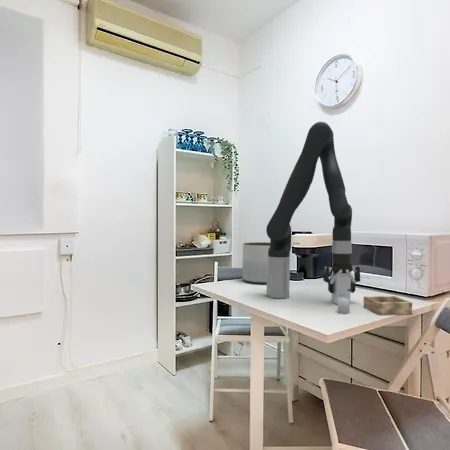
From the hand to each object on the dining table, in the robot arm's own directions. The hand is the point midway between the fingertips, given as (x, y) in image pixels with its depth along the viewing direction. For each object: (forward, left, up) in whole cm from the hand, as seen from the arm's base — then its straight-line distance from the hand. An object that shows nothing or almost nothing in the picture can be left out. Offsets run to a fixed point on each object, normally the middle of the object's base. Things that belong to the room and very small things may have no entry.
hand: (341, 292), depth 134 cm
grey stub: (-5, -13, -4) cm, 15 cm away
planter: (-21, +49, -4) cm, 54 cm away
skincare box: (0, 0, -4) cm, 4 cm away
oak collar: (+12, -12, -4) cm, 17 cm away
